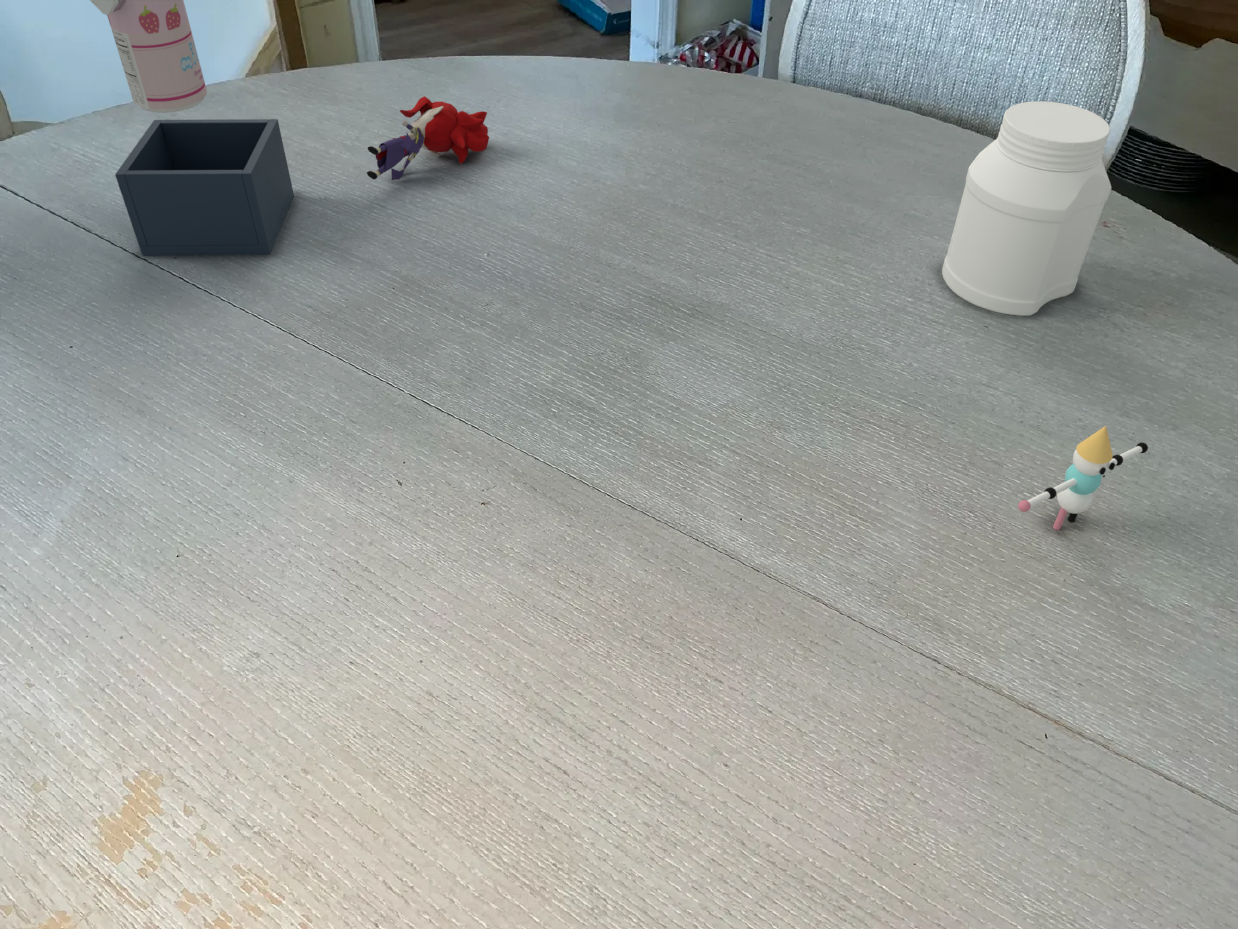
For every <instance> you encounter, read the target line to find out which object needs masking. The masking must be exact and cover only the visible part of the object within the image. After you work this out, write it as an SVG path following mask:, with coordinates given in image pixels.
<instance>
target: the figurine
mask: <svg viewBox="0 0 1238 929" xmlns="http://www.w3.org/2000/svg"><path fill="white" fill-rule="evenodd" d="M399 112H400V114H402V115H403V116H404V117H405V118H408V119H409V118H410V119H411V118H412V117H414V116H415V115H416V114H417V113H420V116H418V117H417V119H415V120H414V121H413V122H411V124H410V123H408V121H407V119H404V120H403V121H402V122H401V126H403V127H405V128H406V129H407V130H409V131H410V132H409V133H408V132H406V134H404V135H401V136H398V137H392V138H391V139H389V140H386V141H384V142H381V143H380V144H379V145H378V147H376V146H371V145H370V146H368V147H367V151H368V152H370V153H371V154H372V155H374V156H375V160H376V164H377V165H376V166H377V168H378V169H376V170H368V171H367V172H366V175H367V177H369V178H370V179H371V180H376V179H378V178H379V176H382V175H383V174H384V173H386V172H388V171H389V170H390V171H391V181H394V180H395V181H396V180H400V179H401V178H403V177H404V173H405V170H406V169H407V168H408V166H409V165H410V163H411V162H412V161H413V159H415V158H416V157H417V155H418V154H419V152H420V150H421V149H424V150H426V151H428V152H430V153H431V154H433V155H435V156H437V157H441V154H440V153H446V152H449V151H451V150H452V151H453V153H454V154H455V155H456V157H457V159H458V164H463V163H464V162H465V161H466V159H467V156H468V154H469V150H470V151H472V152H476V153H478V152H479V153H480V152H483V151H486V150H487V147H488V144H489V139H490V136H489V135H488V133H489V128H488V126H487V125H486V124H484V123H485V120H486V117H487V115H488V112H487V111H483V110H481V111H477V112H473V113H468V112H466V111H464V110H461V111H458V109H457V108H456V107H455V106H454V105H453V104H451V103H449V102H446V101H433V102H432V101H431V100H430V98H428V97H426V95H425V96H424V95H423V96H422V97H420V98H419V99H418V100H417V102H416V104H415V105H414V107H412V108H411V109H408V110H404V109H400V110H399ZM406 157H407V158H406ZM404 158H406V159H405V161H404V163H403V166H402V167H401V169H400V170H398V169H395V168H394V167H396V166H397V165H398V164H399V163H400V162H401V161H402V160H403V159H404Z"/></svg>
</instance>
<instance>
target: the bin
mask: <svg viewBox="0 0 1238 929" xmlns="http://www.w3.org/2000/svg"><path fill="white" fill-rule="evenodd" d="M114 175H115V176H114V177H115V179H116V181H117V185H118V188H119V191H120V194H121V197H122V200H123V203H124V206H125V208H126V212H127V214H128V217H129V221H130V223H131V227H132V229H133V232H134V235H135V239H136V241H137V244H138V247H139V250H140V253H141V256H144V257H145V256H154V257H155V256H219V255H220V256H229V255H233V256H237V255H238V256H239V255H241V256H242V255H246V256H247V255H249V256H250V255H271V253H272V251H273V248H274V246H275V243H276V241H277V238H278V236H279V233H280V231H281V229H282V226H283V224H284V221H285V218H286V216H287V215H288V211H289V209H290V207H291V204H292V202H293V200H294V197H295V195H294V190H293V184H292V180H291V175H290V171H289V165H288V161H287V156H286V152H285V147H284V142H283V137H282V133H281V128H280V123H279V119H278V118H270V119H269V118H268V119H267V118H265V119H264V118H259V119H258V118H255V119H254V118H253V119H251V118H249V119H248V118H246V119H244V118H243V119H240V118H239V119H235V118H234V119H233V118H231V119H226V118H225V119H154V120H153V121H152V122H151V124H150V126H149V127H148V128H147V129H146V131H145V132H144V133H143V135H142V136H141V138H140V139H139V140H138V142H137V143H136V144H135V146H134V148H133V149H132V150H131V152H130V153H129V154H128V155H127V157H126V158H125V159H124V161H123V163H122V164H121V165H120V167H119V169H118V170H117V171H116V172H115V174H114Z"/></svg>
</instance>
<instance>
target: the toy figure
mask: <svg viewBox="0 0 1238 929" xmlns="http://www.w3.org/2000/svg"><path fill="white" fill-rule="evenodd" d="M1110 441H1111V440H1110V437H1109V432H1108V428H1107V425H1105V426H1103V427H1102V428H1100V429H1098V430H1097V431H1095V432H1094V433H1092V434H1091V435H1089V436H1088V437H1086V438H1085V439H1084V440H1082V441H1080V442H1079V443H1078V444H1077V445H1076V449H1075V450H1074V452H1073V455H1072V462H1073V463H1072V464H1070V466H1069V467H1068V468H1067V469H1066V470H1065V475H1064V481H1063V482H1062V483H1060V484H1058V485H1056V486H1054V487H1047V488H1045V489H1044V491H1043V492H1041V493H1040V494H1037V495H1036V496H1033V497H1032V498H1029V499H1028V500H1026V499H1023V500H1021V501H1019V503H1018V504H1017V508H1018V510H1019V511H1021V512H1023V513H1026V512H1028V511H1030V509H1031V507H1034V506H1036V505H1038V504H1040V503H1042V502H1044V501H1046V500H1048V499H1049V500H1052V499H1055V498H1056V500H1057V503H1058V506H1059V507H1060V509H1059V511H1058V515H1057V516H1056V519H1055V521H1054V523H1053V526H1052V527H1053V529H1054V530H1057V531H1059V530H1061V528H1062V526H1063V523H1064V522H1065V519H1066V518H1067V521H1068V522H1069V523H1075V521H1076V519H1077V517H1078V515H1079V514H1081V513H1083V512H1086V511H1087V510H1088V509H1089V508H1090V507H1091V506H1092V505H1093V500H1094V499H1093V498H1094V492H1096V491H1097V490H1098V489H1099V487H1100V486H1101V483H1102V478H1105V477H1106V475H1104V474H1105V473H1106V471H1107V470H1110V471H1113V470H1114V469H1115V467H1116V466H1117V467H1119V466H1121V465H1122V464H1123V462H1124V461H1126V460H1128V459H1130V458H1132V457H1135V456H1137V455H1139V454H1145V453H1147V451H1148V450H1149V446H1148V444H1147V443H1146V442H1142V441H1141V442H1138V443H1137V444H1136V445H1135V447H1133V448H1131V449H1129V450H1127V451H1125V452H1122V453H1120V454H1114V455H1113V450H1112V446H1111V442H1110ZM1068 513H1069V515H1068ZM1067 515H1068V517H1067Z"/></svg>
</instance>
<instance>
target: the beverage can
mask: <svg viewBox="0 0 1238 929" xmlns="http://www.w3.org/2000/svg"><path fill="white" fill-rule="evenodd" d="M106 16H107V19H108V22H109V26H110V29H111V33H112V35H113V39H114V42H115V46H116V50H117V52H118V55H119V59H120V63H121V65H122V66H121V67H122V70H123V73H124V76H125V79H126V82H127V85H128V88H129V92H130V95H131V98H132V102H133V103H134V104H135V105H136V106H138V107H139V108H140V109H142V110H144V111H146V112H150V113H155V114H156V113H158V114H161V113H162V114H167V113H176V112H182V111H186V110H189V109H192V108H194V107H197V106H199V105H200V104H201V103H203V101H204V99H205V97H206V96H207V95H208V90H207V86H206V82H205V78H204V74H203V70H202V66H201V63H200V62H201V61H200V59H199V55H198V51H197V48H196V44H195V40H194V39H195V38H194V35H193V31H192V28H191V24H190V21H189V20H190V19H189V17H188V12H187V8H186V5H185V1H184V0H126V1H125V3H124V4H123V6H122V7H121V8H120V9H119V10H117V11H115V12H113V13H111V14H108V15H106Z"/></svg>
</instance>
